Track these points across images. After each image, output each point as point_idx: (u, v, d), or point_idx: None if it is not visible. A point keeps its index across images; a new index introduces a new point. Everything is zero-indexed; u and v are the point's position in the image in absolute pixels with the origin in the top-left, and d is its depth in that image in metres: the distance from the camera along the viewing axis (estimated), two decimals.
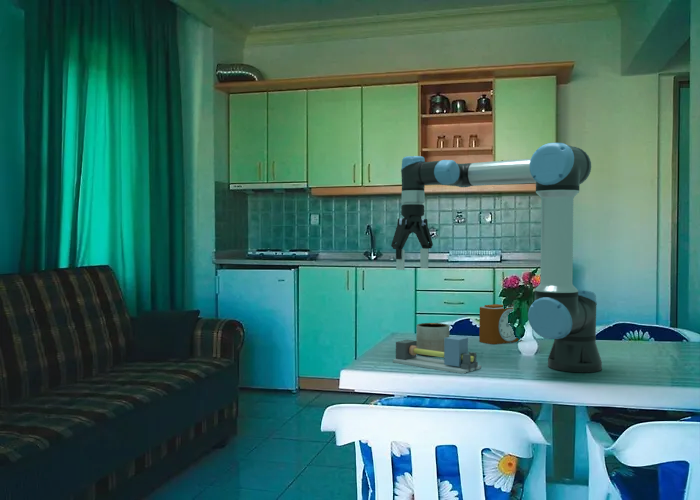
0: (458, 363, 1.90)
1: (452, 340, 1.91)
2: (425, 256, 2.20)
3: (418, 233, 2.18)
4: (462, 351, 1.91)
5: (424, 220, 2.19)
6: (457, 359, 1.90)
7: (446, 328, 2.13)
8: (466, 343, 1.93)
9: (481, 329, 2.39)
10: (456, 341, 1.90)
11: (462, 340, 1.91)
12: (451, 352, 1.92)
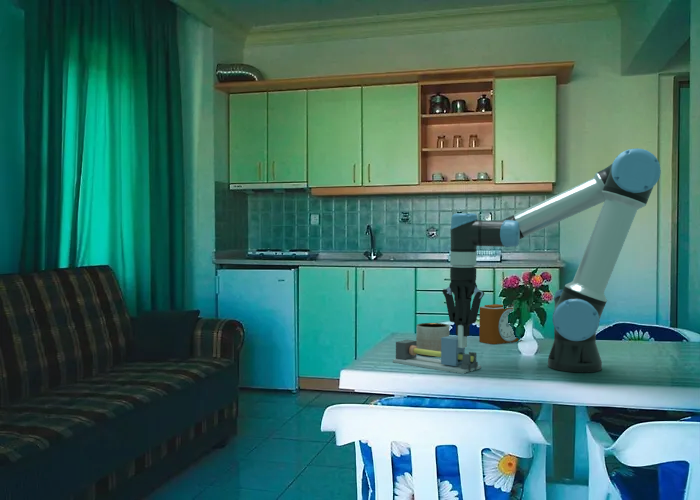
0: (455, 363, 1.91)
1: (449, 340, 1.92)
2: None
3: None
4: (459, 351, 1.92)
5: (478, 292, 1.87)
6: (454, 359, 1.91)
7: (446, 328, 2.13)
8: None
9: (481, 329, 2.39)
10: (453, 341, 1.91)
11: None
12: (448, 352, 1.92)
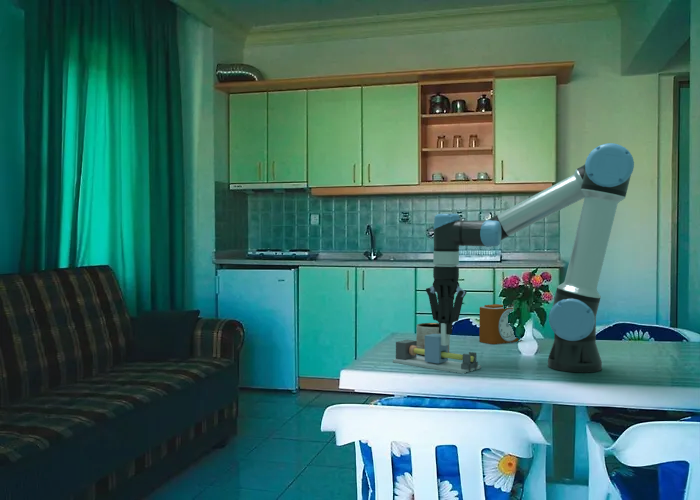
0: (438, 360, 1.95)
1: (432, 337, 1.96)
2: None
3: None
4: (442, 348, 1.96)
5: (460, 290, 1.91)
6: (437, 356, 1.95)
7: None
8: None
9: (481, 329, 2.39)
10: (436, 338, 1.95)
11: None
12: (431, 349, 1.96)
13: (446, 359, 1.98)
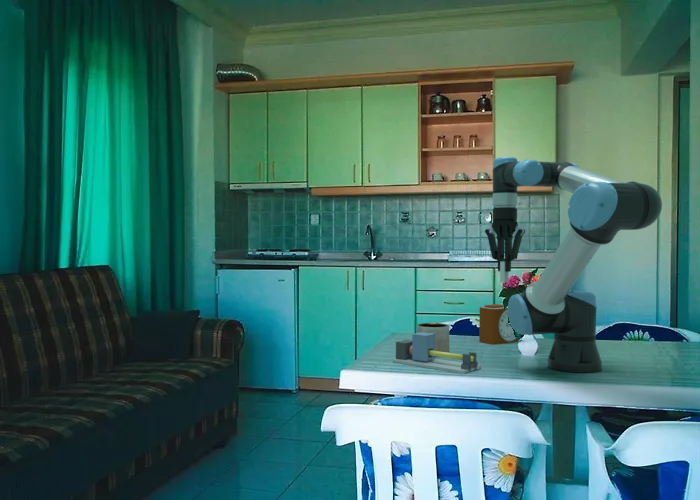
0: (425, 358, 1.98)
1: (419, 336, 1.99)
2: None
3: None
4: (429, 346, 1.99)
5: (519, 229, 2.03)
6: (424, 354, 1.98)
7: (446, 328, 2.13)
8: (433, 339, 2.00)
9: (481, 329, 2.39)
10: (423, 337, 1.98)
11: (429, 336, 1.99)
12: (419, 347, 1.99)
13: (433, 357, 2.01)
